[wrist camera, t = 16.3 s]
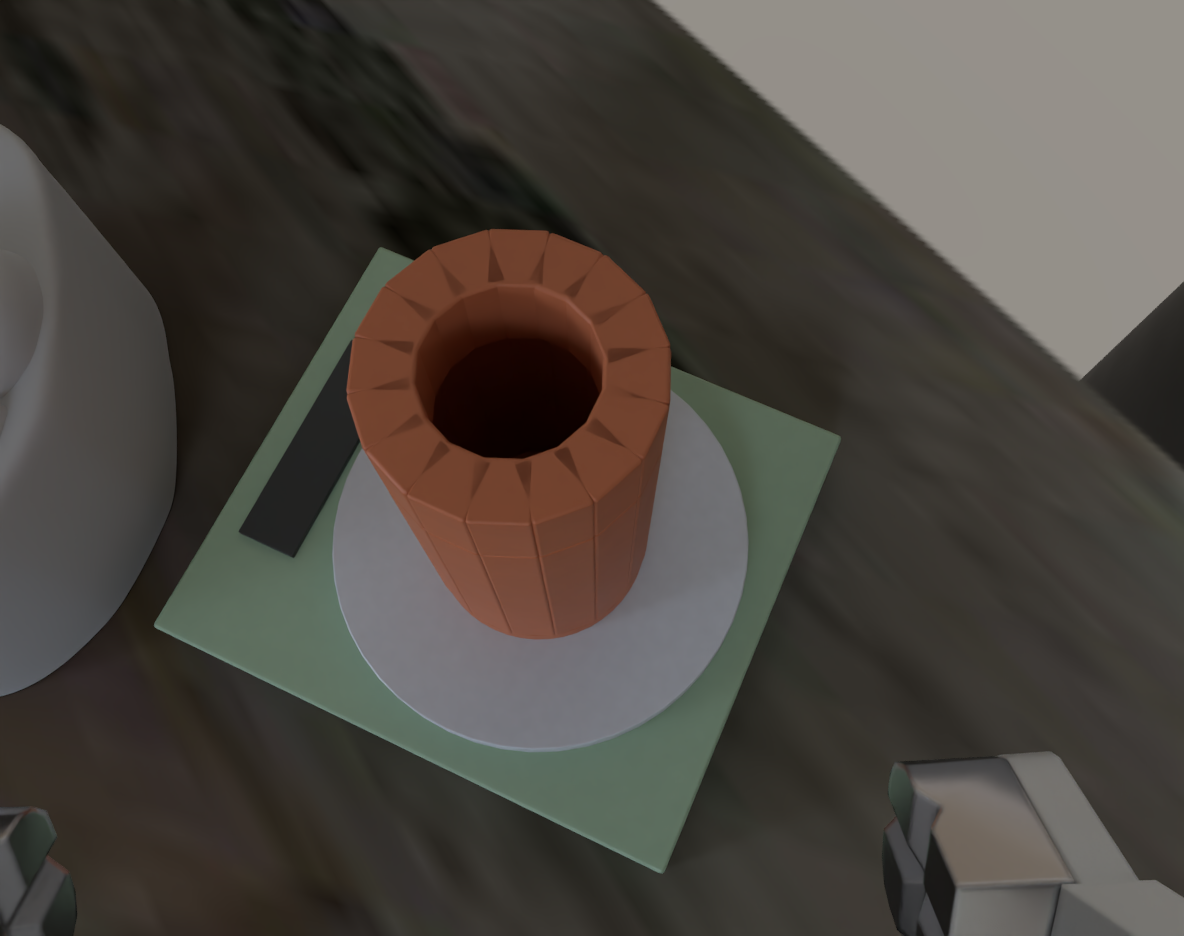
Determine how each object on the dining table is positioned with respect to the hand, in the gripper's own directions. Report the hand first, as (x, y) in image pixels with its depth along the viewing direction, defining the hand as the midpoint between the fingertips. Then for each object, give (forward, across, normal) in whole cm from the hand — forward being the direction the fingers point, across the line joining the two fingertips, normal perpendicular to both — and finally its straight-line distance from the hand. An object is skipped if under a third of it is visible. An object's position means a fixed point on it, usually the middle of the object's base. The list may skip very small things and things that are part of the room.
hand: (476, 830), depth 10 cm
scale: (+18, +1, +7) cm, 19 cm away
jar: (+15, 0, +5) cm, 16 cm away
